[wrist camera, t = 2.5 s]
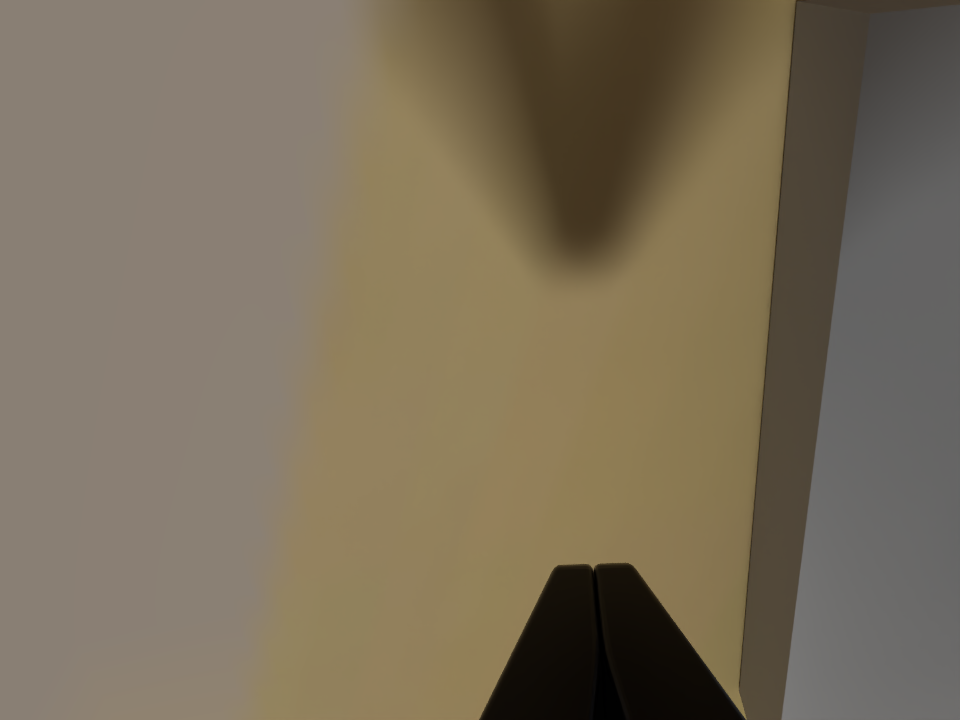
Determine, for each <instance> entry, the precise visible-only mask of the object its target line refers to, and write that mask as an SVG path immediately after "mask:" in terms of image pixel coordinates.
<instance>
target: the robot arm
mask: <svg viewBox="0 0 960 720" xmlns="http://www.w3.org/2000/svg"><path fill="white" fill-rule="evenodd" d="M479 720H746V719H745V718H744V717H743V715H742V714H741V712H740V711H739V710H738V708H737V707H736V706H735V704H734V703H733V701H732V700H731V699H730V697H729V696H728V695H727V693H726V692H725V691H724V689H723V688H722V686H721V685H720V684H719V682H718V681H717V680H716V678H715V677H714V675H713V674H712V673H711V671H710V670H709V669H708V667H707V666H706V664H705V663H704V662H703V660H702V659H701V658H700V656H699V655H698V654H697V652H696V651H695V649H694V648H693V647H692V645H691V644H690V643H689V641H688V640H687V638H686V637H685V636H684V634H683V633H682V632H681V630H680V629H679V627H678V626H677V625H676V623H675V622H674V621H673V619H672V618H671V617H670V615H669V614H668V612H667V611H666V610H665V608H664V607H663V606H662V604H661V603H660V601H659V600H658V599H657V597H656V596H655V595H654V593H653V592H652V590H651V589H650V588H649V586H648V585H647V584H646V582H645V581H644V580H643V578H642V577H641V575H640V574H639V573H638V571H637V570H636V569H635V568H634V566H632V565H631V564H629V563H607V564H598V565H596V566H595V568H594V573H593V569H592V567H591V566H590V565H588V564H576V565H558V566H557V567H555V568H554V569H553V571H552V573H551V575H550V577H549V579H548V581H547V583H546V585H545V587H544V589H543V591H542V593H541V595H540V597H539V599H538V601H537V603H536V605H535V607H534V609H533V611H532V613H531V615H530V617H529V619H528V621H527V623H526V626H525V628H524V630H523V632H522V634H521V636H520V638H519V640H518V642H517V644H516V646H515V648H514V650H513V652H512V654H511V656H510V658H509V660H508V662H507V664H506V666H505V668H504V670H503V672H502V674H501V676H500V678H499V680H498V682H497V685H496V687H495V689H494V691H493V693H492V695H491V697H490V699H489V701H488V703H487V705H486V707H485V709H484V711H483V713H482V715H481V717H480V719H479Z"/></svg>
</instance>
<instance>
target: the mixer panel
mask: <svg viewBox="0 0 960 720" xmlns="http://www.w3.org/2000/svg"><path fill="white" fill-rule="evenodd" d="M739 693H740V696H741V700H742V703H743V707H744V711H745V714H746V718H747V720H960V0H804V1H797V6H796V18H795V30H794V42H793V54H792V66H791V78H790V89H789V101H788V113H787V125H786V137H785V149H784V161H783V173H782V185H781V197H780V209H779V221H778V233H777V245H776V257H775V269H774V281H773V293H772V305H771V317H770V329H769V341H768V353H767V365H766V377H765V389H764V401H763V413H762V425H761V437H760V449H759V461H758V473H757V485H756V497H755V509H754V521H753V533H752V545H751V557H750V569H749V581H748V593H747V605H746V616H745V628H744V640H743V652H742V664H741V676H740V688H739Z"/></svg>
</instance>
